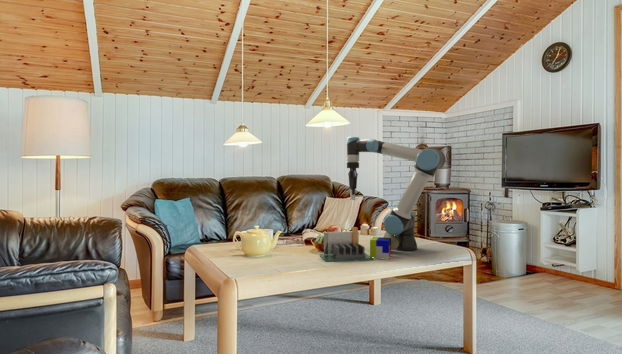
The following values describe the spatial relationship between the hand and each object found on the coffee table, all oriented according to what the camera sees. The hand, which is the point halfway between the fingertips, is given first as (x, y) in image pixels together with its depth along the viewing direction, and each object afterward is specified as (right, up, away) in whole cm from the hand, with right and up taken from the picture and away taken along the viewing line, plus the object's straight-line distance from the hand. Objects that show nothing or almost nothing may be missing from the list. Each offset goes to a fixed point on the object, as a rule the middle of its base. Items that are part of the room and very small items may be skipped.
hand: (352, 199), depth 257 cm
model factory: (-7, -30, -30) cm, 43 cm away
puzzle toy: (+13, -30, -26) cm, 42 cm away
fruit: (+22, -29, -15) cm, 39 cm away
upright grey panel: (-9, -28, -25) cm, 39 cm away
